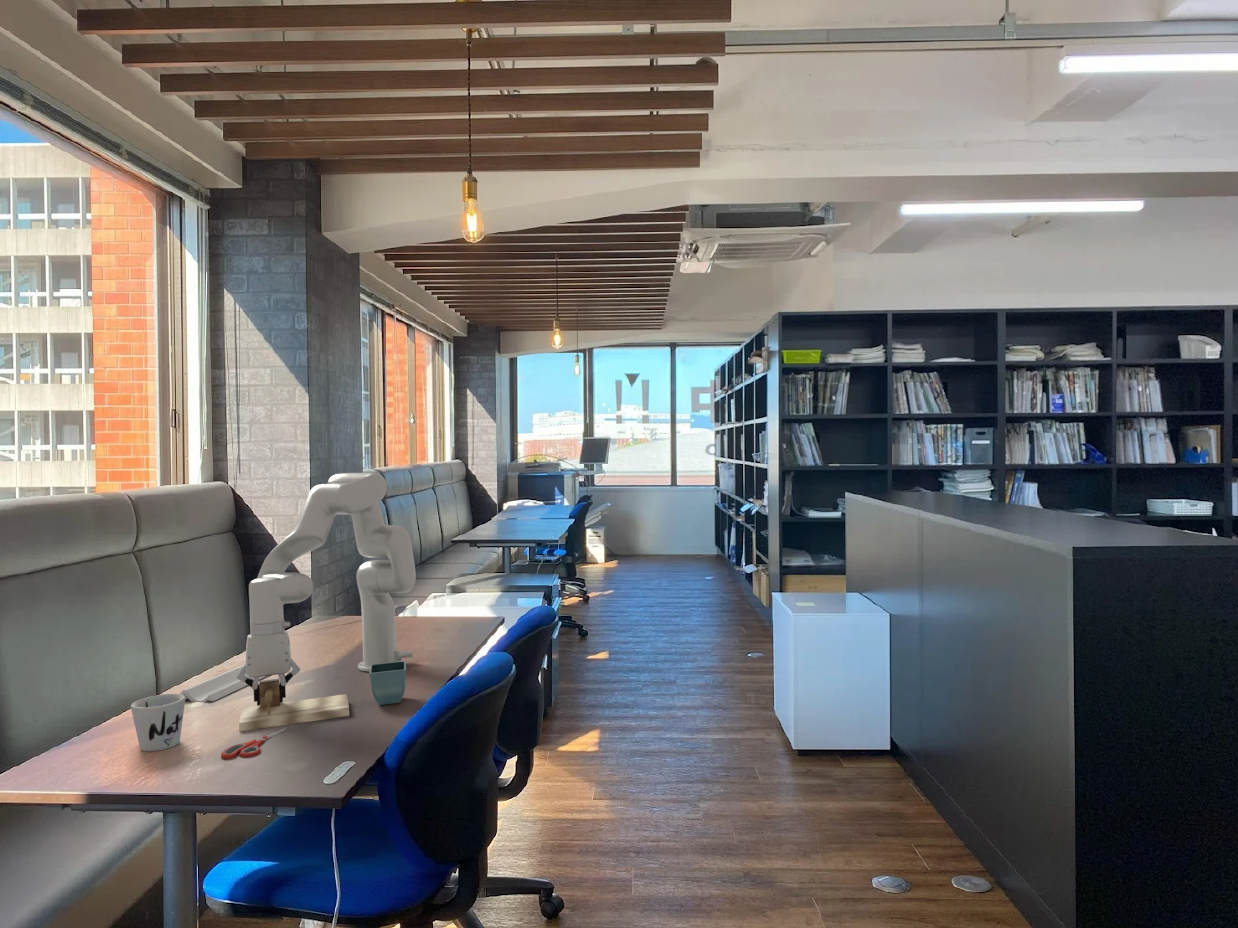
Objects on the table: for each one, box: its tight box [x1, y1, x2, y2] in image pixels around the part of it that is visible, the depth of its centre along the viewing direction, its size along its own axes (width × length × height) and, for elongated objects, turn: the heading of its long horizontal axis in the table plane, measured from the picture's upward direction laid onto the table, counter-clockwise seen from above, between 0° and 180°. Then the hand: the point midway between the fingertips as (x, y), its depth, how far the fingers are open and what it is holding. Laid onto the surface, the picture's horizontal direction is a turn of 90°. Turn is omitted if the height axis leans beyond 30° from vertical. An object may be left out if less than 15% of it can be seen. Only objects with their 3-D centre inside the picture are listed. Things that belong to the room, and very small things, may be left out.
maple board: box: [238, 693, 350, 732], centre depth 193 cm, size 24×12×2 cm, turn 112°
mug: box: [130, 693, 186, 753], centre depth 176 cm, size 10×15×10 cm
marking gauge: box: [258, 678, 280, 715], centre depth 191 cm, size 4×13×8 cm, turn 22°
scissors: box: [220, 726, 288, 760], centre depth 176 cm, size 8×21×2 cm, turn 179°
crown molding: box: [179, 663, 268, 703], centre depth 222 cm, size 31×12×4 cm, turn 170°
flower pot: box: [368, 660, 407, 706], centre depth 202 cm, size 9×9×9 cm
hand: (270, 701), depth 195 cm, fingers closed on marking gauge, 4 cm apart
